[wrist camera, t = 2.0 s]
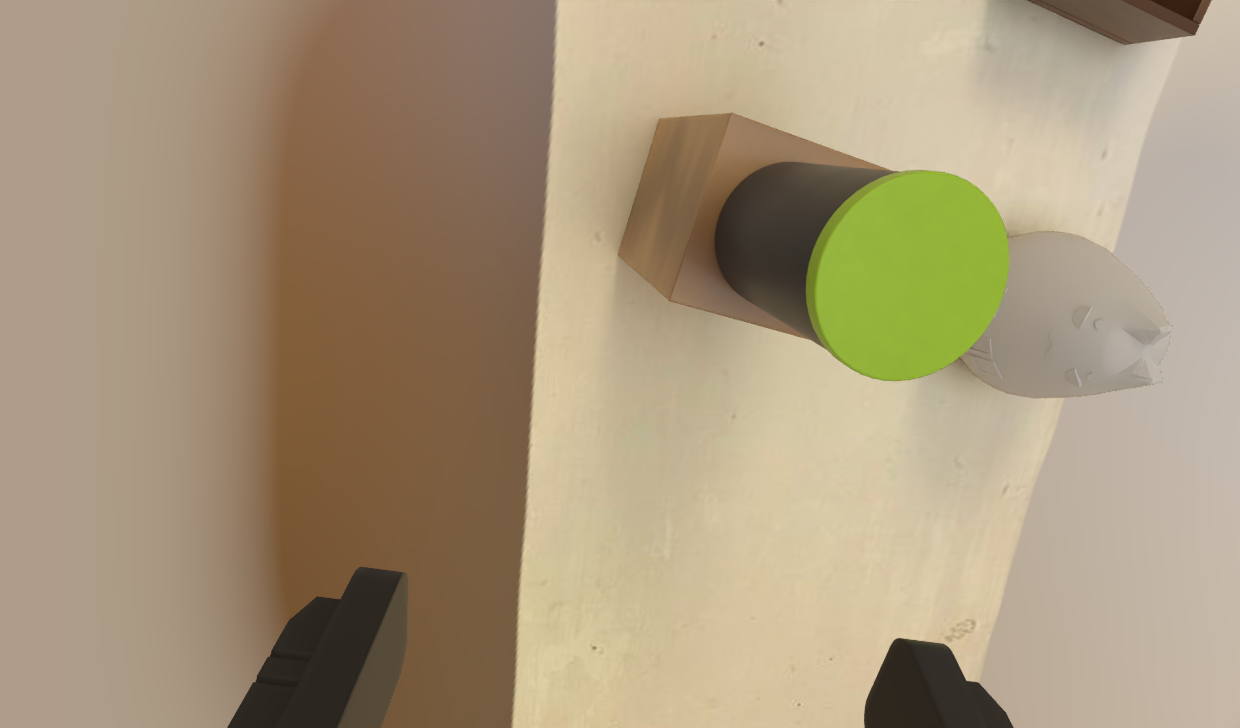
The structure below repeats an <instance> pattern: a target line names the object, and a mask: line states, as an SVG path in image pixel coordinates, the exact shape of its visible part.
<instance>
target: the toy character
mask: <svg viewBox="0 0 1240 728" xmlns="http://www.w3.org/2000/svg"><path fill="white" fill-rule="evenodd" d="M1008 244H1009V272H1008V278H1007V283H1006V287H1005V291H1004V295H1003V297H1002V300H1001V302H1000V305H999V308H998V310H997V311H996V313H995V315H994V317H993V319H992V321H991V322H990V324H989V326H988V327H987V329H986V330H985V332H984V333H983V334H982V335H981V337H980V338H979V339H978V340H977V341H976V343H975V344H974V345H973V346H972V347H971V348H970V349H969V350H968V351H967V352H965V353H964V354H963V355H962V356H960V358H961V359H962V360H963V362H964V363H965V364H966V365H967V367H968V368H969V369H970V370H971V372H972V373H973V374H974V375H975V376H977V377H978V378H979V379H981V380H982V381H983V382H985V383H987V384H988V385H990V386H992V387H994V388H996V389H998V390H1000V391H1003V392H1005V393H1008V394H1013V395H1019V396H1024V397H1030V398H1065V397H1081V396H1088V395H1096V394H1101V393H1106V392H1111V391H1118V390H1124V389H1129V388H1136V387H1142V386H1148V385H1154V384H1159V383H1162V382H1163V377H1162V374H1161V373H1162V372H1161V370H1160V369H1159V367H1158V366H1159V365H1160V363H1161V362H1162V360H1163V359H1164V357H1165V355H1166V353H1167V350H1168V347H1169V343H1170V332H1171V330H1172V325H1171V324H1170V323H1169V322H1168V321H1167V319H1166V317H1165V314H1164V311H1163V308H1162V306H1161V305H1160V303H1159V302H1158V300H1157V299H1156V298H1155V296H1154V295H1153V293H1152V292H1151V291H1150V289H1148V287H1147V286H1146V285H1145V284H1144V282H1143V281H1142V280H1141V279H1140V278H1139V277H1138V276H1137V275H1136V274H1135V273H1134V272H1133V271H1132V270H1130V269H1129V268H1128V267H1127V266H1126V265H1125V264H1123V263H1122V262H1121V261H1120V260H1119V259H1118V258H1117V257H1115V256H1114V255H1113V254H1112V253H1111V252H1110V251H1109V250H1107V249H1106V248H1104V247H1102V246H1100V245H1098V244H1096V243H1094V242H1092V241H1090V240H1088V239H1086V238H1084V237H1082V236H1078V235H1073V234H1069V233H1062V232H1054V231H1046V232H1034V233H1030V234H1025V235H1021V236H1017V237H1012V238H1009V239H1008Z"/></svg>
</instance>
